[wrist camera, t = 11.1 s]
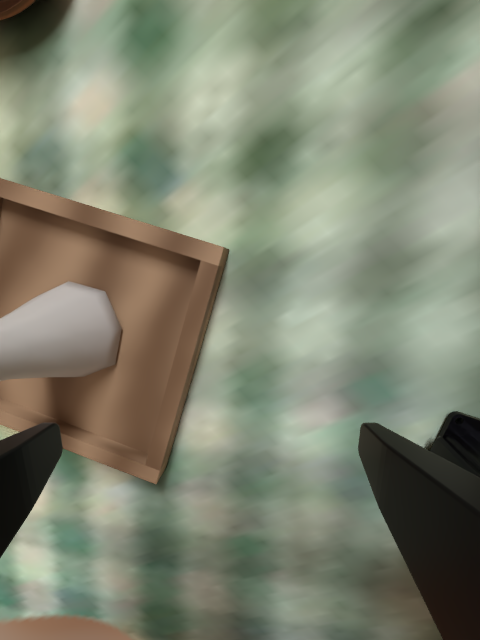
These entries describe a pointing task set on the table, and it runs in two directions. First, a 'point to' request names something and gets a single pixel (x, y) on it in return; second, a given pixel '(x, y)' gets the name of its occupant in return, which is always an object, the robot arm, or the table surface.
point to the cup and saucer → (13, 7)
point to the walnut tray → (132, 313)
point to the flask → (59, 334)
